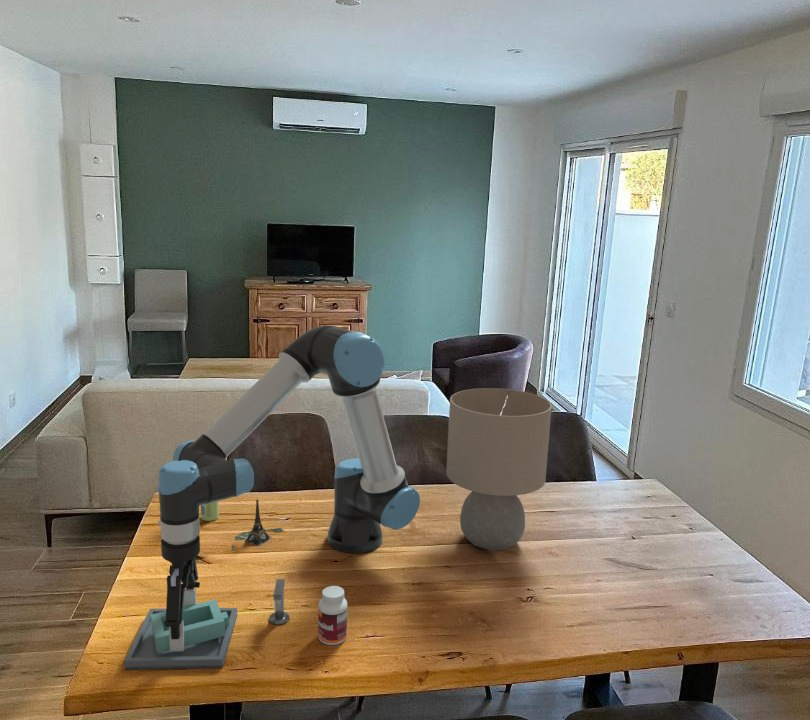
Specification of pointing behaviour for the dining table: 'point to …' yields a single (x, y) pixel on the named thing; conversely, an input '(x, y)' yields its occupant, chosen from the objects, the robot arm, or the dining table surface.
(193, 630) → the ring frame
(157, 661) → the tray
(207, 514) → the tube
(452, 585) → the dining table surface
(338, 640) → the pill bottle
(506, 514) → the lamp
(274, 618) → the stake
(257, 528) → the eiffel tower figurine
